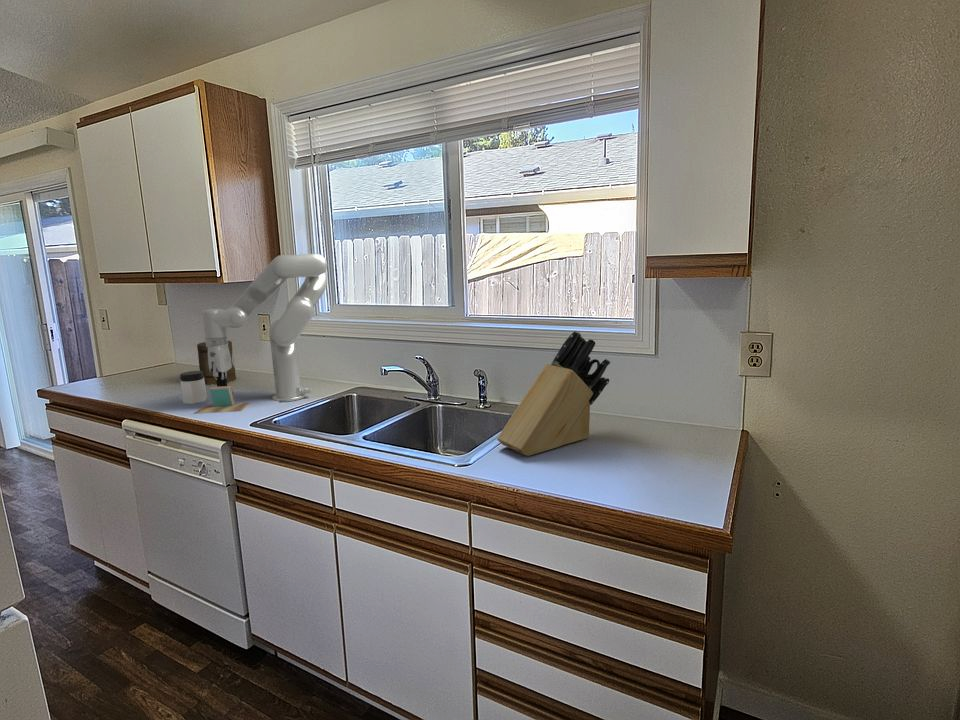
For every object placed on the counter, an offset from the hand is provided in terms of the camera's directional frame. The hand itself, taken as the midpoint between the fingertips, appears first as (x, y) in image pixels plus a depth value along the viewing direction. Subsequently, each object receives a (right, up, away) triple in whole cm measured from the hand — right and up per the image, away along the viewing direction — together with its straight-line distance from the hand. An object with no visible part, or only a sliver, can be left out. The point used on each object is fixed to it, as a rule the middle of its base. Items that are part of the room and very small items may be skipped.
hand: (222, 389), depth 211 cm
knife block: (+121, -12, -50) cm, 131 cm away
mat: (+2, -7, -3) cm, 8 cm away
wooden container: (-24, +1, +47) cm, 53 cm away
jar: (-15, -6, +9) cm, 19 cm away
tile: (0, -6, 0) cm, 6 cm away
